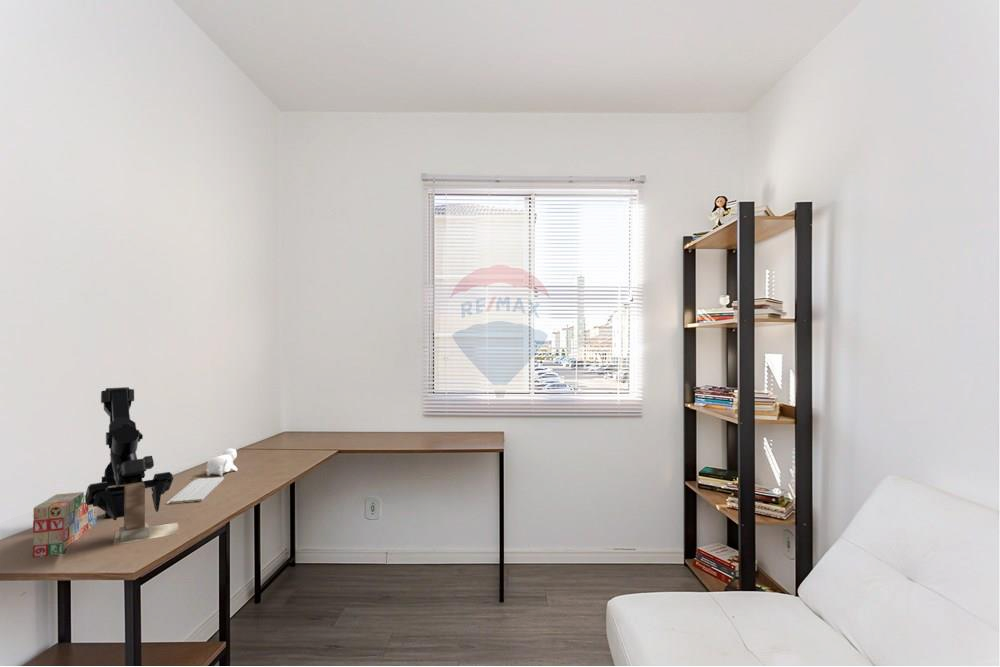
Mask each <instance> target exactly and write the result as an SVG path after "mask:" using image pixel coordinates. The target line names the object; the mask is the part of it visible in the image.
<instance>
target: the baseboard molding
mask: <svg viewBox="0 0 1000 667" xmlns="http://www.w3.org/2000/svg"><path fill="white" fill-rule="evenodd" d="M208 475H209V474H208ZM210 476H212V474H210ZM215 476H217V477H215ZM199 477H202V476H201V475H200V476H198V475H197V478H196V479H195V480H193V478H192V477H191V479H189V481H190V482H189V483H188V484H187V485H186V486H185V487H184V488H182V489H181V490H180V491H179V492H178V493H176V494H175V495H174V496H173V497H171V498H170V499H168V501H167V502H166V503H165V505H170V504H169V503H179V504H182V503H181V502H192V501H202V500H203V499H204V498H205V497H206V496H207V495H208V494H209V493H210V492H211V491H212V490H213V489H214V488H215V487H218V486H219V485H220V483H221V482H223V480H224V479H225V477H224V476H219V477H218V474H214V477H208V476H207V474H204V478H199ZM215 489H216V488H215ZM215 489H214V490H215ZM214 490H213V491H214ZM213 491H212V492H213ZM212 492H211V493H212ZM211 493H210V494H211ZM210 494H209V495H210ZM207 497H208V496H207ZM207 497H206V498H207ZM206 498H205V499H206ZM205 499H204V500H205ZM204 500H203V501H204ZM203 501H202V502H203ZM192 503H193V502H192Z"/></svg>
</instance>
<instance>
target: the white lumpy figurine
mask: <svg viewBox="0 0 1000 667" xmlns="http://www.w3.org/2000/svg"><path fill="white" fill-rule="evenodd" d="M237 456H238V452H237V450H236V449H235V448H230V447H229V448H227V449H226V448H225V449H224V450H223V452H222V454H221V455H217V456H215V457H213V458H210V459H209V460H208V461H207V464H206V470H205V471H206V475H207V476H206V477H211V475H218V476H219V477H223V474H225V473H226V472H227V473H228V472H230V471H231V470H232V471H233V472H238V468H237V466H236V465H235V464H234V461H235V460H236V459H237ZM208 474H209V475H208ZM210 474H211V475H210Z"/></svg>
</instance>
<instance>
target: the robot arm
mask: <svg viewBox="0 0 1000 667" xmlns="http://www.w3.org/2000/svg"><path fill="white" fill-rule="evenodd" d="M134 401H135V389H134V388H130V387H127V386H126V387H125V386H124V387H106V388H105V390H102V391H101V392H100V404H103V410H104V412H105V413H106V414H107V416H109V425H108V432H105V445H106V446H108V449H109V450H110V451H109V452H110V453H109V456H110V459H109V460H110V461H109V463H108V464H107V466H106V467H105V469H104V472H103V474H104V476H101V482H95V483H90V484H89V485H88V486H87V489H86V491H85V494H84V495H85V501H86V505H93V506H94V507H96V506H97V508H99V509H100V510H102V511H103V512H104V517H103V518H104V519H110V518H111V519H112V520H113V521H117V519H118V517H124V484H131V483H138V482H143V483H144V484H145V490H146V489H151V492H152V493H151V498H152V503H153V507H154V511H155V512H156V513H157V512H159V509H160V503H161V498H162V495H164V494H165V493H166V492H167V491H169V490H170V488H171V486H172V483H173V481H174V477H173V476H174V475H173V473H171V472H170V471H165V472H159V473H158V472H157V473H154V475H153V479H148V480H143V479H144V478H145V477H146V473H145V472H147V470H152V468H153V467H154V465H155V463H154V459H153V455H147V456H143V458H138V457H137V456H138V455H137V450H138V447H139V446H138V445H139V443H140V442H141V440H143V438H144V437H143V435H144V434H143V433H141V431H140V429H137V426H136V422H135V421H133V420H132V419H131V416H130V409H131V407H132V402H134Z"/></svg>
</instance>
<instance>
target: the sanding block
mask: <svg viewBox="0 0 1000 667" xmlns="http://www.w3.org/2000/svg"><path fill="white" fill-rule="evenodd" d="M145 518H146V489H145V484H144V483H143V482H138V483H131V484H124V516H123V526H121V527H120V526H119V527H118V532H119V538H120V540H121V542H126V541H131V540H136V539H141V538H146V537H150V527H151V526H150V525H149V524H148V522H147V521H146V519H145Z"/></svg>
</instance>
